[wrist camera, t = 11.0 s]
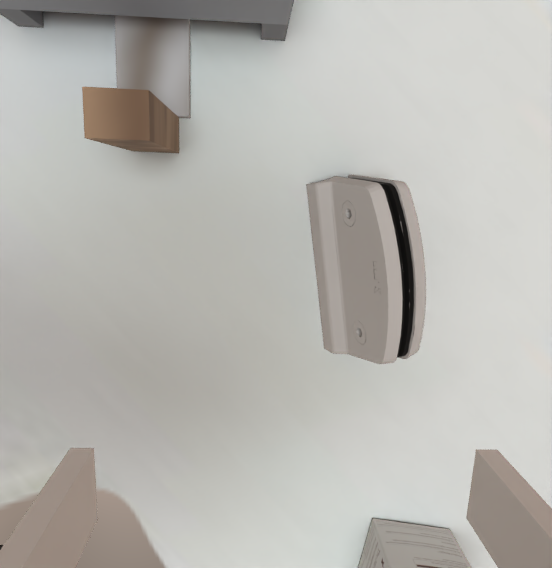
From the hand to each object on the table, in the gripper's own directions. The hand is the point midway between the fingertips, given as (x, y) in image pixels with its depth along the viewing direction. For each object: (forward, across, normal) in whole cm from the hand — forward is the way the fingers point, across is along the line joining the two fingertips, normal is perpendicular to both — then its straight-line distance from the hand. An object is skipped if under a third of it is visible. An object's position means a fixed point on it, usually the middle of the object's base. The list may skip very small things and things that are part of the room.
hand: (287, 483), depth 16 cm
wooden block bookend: (+29, -10, +23) cm, 38 cm away
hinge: (+29, +9, +3) cm, 30 cm away
